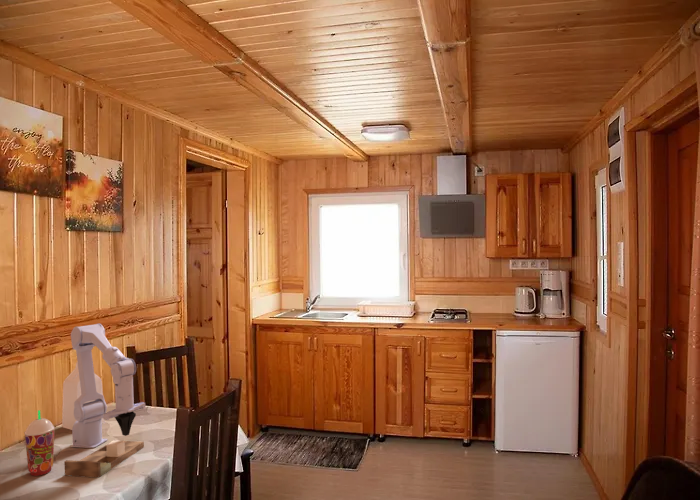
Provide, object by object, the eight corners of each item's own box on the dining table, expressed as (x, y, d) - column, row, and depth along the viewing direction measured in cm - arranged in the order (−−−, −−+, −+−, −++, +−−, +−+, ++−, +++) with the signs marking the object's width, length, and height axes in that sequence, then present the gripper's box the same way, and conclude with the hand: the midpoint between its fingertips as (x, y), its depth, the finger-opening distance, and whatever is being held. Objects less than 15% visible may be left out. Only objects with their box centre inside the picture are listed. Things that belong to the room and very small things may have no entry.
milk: (105, 423, 211) (103, 360, 211) (78, 431, 201) (76, 366, 201) (89, 418, 217) (87, 358, 217) (62, 427, 208) (60, 363, 208)
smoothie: (33, 480, 158) (32, 416, 158) (20, 474, 162) (18, 412, 162) (61, 469, 165) (59, 408, 165) (47, 464, 169) (45, 405, 169)
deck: (64, 475, 160) (64, 461, 160) (114, 446, 184) (113, 433, 184) (98, 477, 158) (98, 463, 158) (143, 447, 182) (143, 434, 182)
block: (106, 456, 170) (106, 444, 170) (114, 451, 174) (113, 440, 174) (117, 456, 169) (117, 445, 169) (124, 452, 173) (124, 440, 173)
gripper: (111, 402, 166) (112, 443, 166) (150, 391, 178) (151, 430, 178) (99, 399, 170) (100, 440, 170) (138, 389, 182) (139, 426, 182)
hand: (125, 434), depth 174 cm, fingers closed
